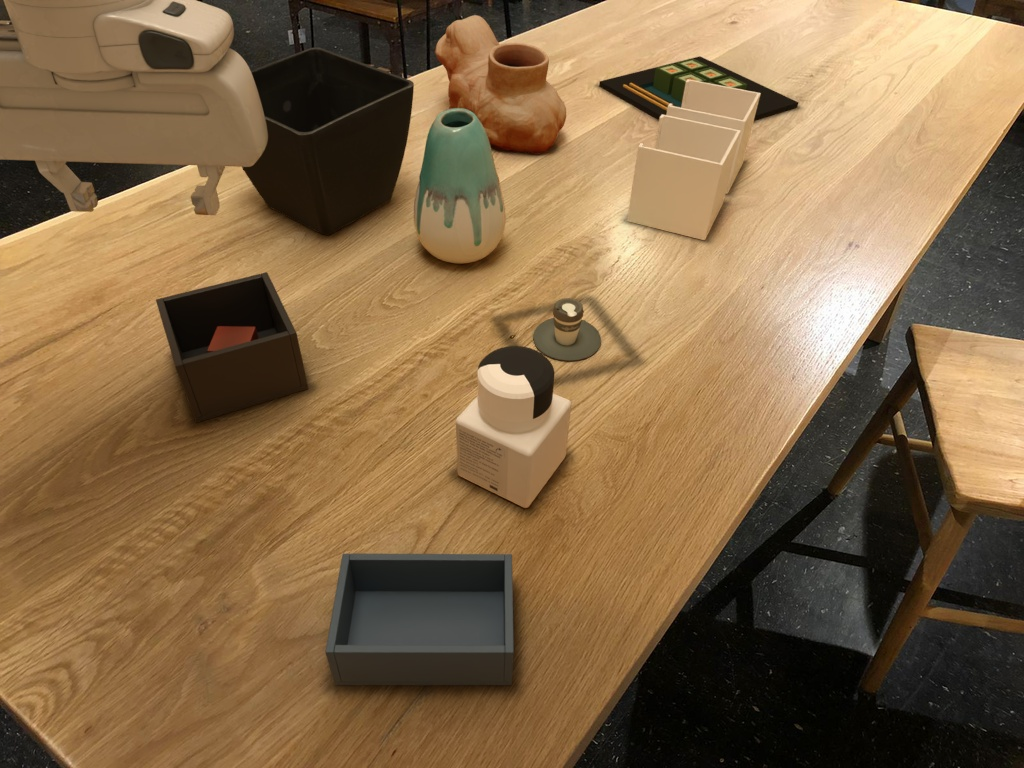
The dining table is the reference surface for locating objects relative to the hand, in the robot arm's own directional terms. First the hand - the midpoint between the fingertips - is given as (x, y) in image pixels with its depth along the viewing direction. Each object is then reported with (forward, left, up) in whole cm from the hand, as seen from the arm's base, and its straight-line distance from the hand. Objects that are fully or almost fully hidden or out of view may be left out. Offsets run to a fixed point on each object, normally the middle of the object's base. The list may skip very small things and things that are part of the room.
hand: (147, 210), depth 60 cm
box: (+10, -31, -24) cm, 40 cm away
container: (+24, -18, -24) cm, 38 cm away
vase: (+35, +18, -24) cm, 46 cm away
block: (+4, +6, -23) cm, 24 cm away
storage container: (+72, +18, -24) cm, 78 cm away
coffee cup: (+38, -4, -24) cm, 45 cm away
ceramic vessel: (+56, +49, -24) cm, 78 cm away
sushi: (+94, +45, -24) cm, 106 cm away
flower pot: (+23, +36, -24) cm, 49 cm away
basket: (+4, +6, -24) cm, 25 cm away
